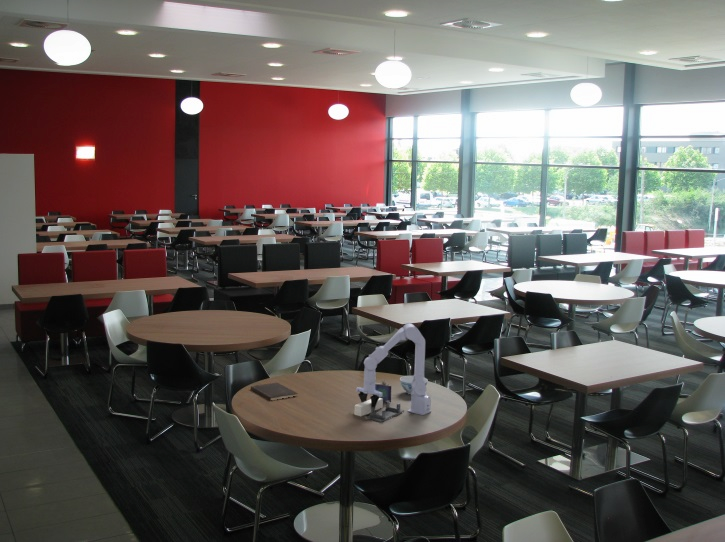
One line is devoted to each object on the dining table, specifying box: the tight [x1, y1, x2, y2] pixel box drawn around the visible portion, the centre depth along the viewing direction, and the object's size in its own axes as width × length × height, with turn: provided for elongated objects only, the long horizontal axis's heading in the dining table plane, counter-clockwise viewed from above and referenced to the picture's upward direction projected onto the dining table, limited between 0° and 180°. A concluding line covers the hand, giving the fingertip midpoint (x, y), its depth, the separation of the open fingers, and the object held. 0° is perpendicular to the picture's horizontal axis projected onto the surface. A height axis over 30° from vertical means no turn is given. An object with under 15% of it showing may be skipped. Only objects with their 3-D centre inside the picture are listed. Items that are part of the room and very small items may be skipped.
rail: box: [353, 398, 384, 417], centre depth 361 cm, size 4×18×5 cm, turn 143°
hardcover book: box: [250, 382, 299, 401], centre depth 386 cm, size 16×23×2 cm
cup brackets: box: [366, 401, 405, 423], centre depth 355 cm, size 8×20×5 cm, turn 145°
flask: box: [375, 380, 392, 403], centre depth 378 cm, size 9×3×11 cm, turn 65°
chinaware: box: [399, 375, 429, 395], centre depth 393 cm, size 15×15×8 cm
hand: (368, 408), depth 361 cm, fingers open, 5 cm apart
